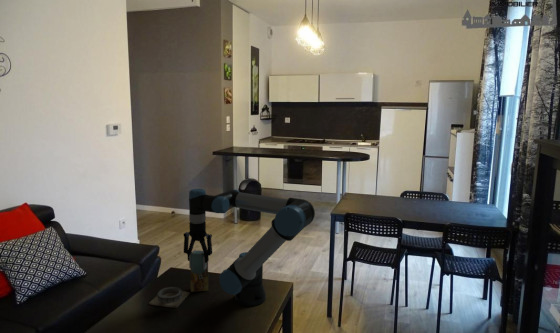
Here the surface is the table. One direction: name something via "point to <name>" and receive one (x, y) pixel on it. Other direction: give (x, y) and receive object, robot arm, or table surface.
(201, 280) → the candy box
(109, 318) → the table surface
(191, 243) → the robot arm
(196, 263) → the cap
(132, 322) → the table surface
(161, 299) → the square base with ring
